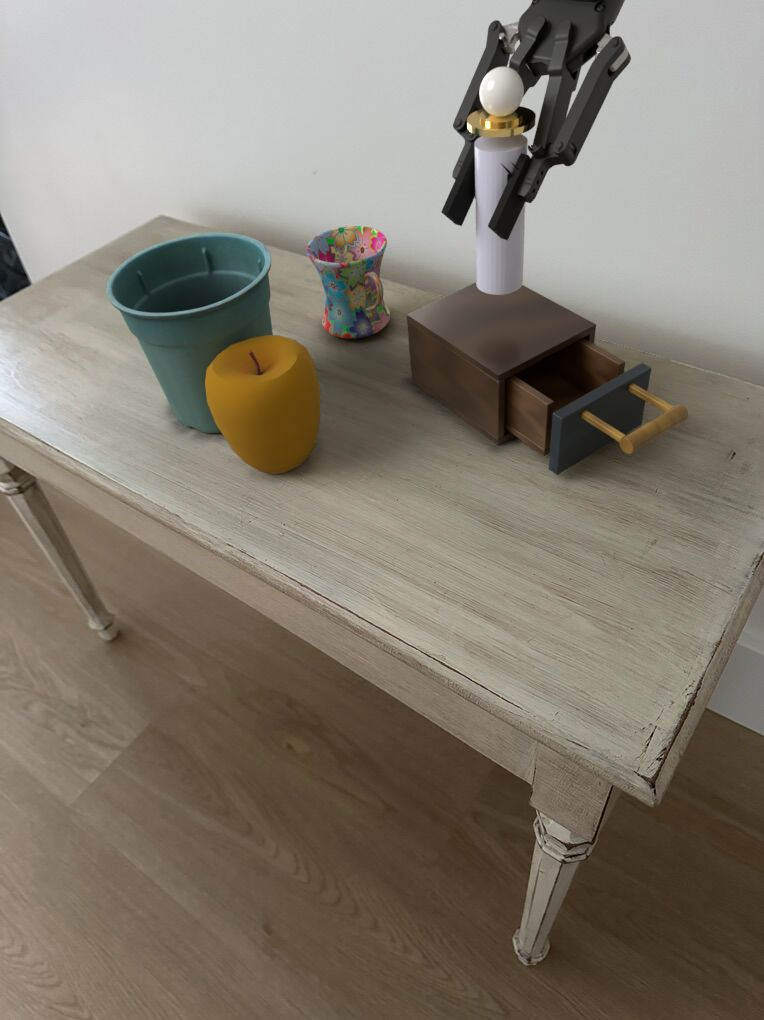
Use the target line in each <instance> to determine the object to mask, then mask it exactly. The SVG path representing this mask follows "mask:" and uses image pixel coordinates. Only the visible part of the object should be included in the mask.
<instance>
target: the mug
mask: <svg viewBox="0 0 764 1020" xmlns="http://www.w3.org/2000/svg"><path fill="white" fill-rule="evenodd" d="M387 244H388V240H387V237H386V236H385V234H384V233H383V232H381V231H380V230H378V229H376V228H373V227H370V226H365V225H364V226H363V225H345V226H339V227H335V228H331V229H330V228H329V229H328V230H325V231H323V232H320V233H319V234H317V235H316V236H314V237H312V238H311V240H309V242H308V244H307V245H306V255H307V257H308V259H309V260H310V261H311V263H312V265H313V266H314V268H315V269H316V271H317V274H318V276H319V278H320V281H321V283H322V287H323V291H324V310H323V314H322V318H321V324H322V327H323V329H324V330H325V331H326V332H327V333H329V334H330V335H332V336H334V337H336V338H341V339H351V340H352V339H362V338H366V337H369V336H370V337H371V336H372V335H374V334H376V333H379V332H380V331H382V330H383V329H384V328H386V326H387V325H388V324H389V321H390V320H391V311H390V309H389V307H388V305H387V304H386V302H385V300H384V286H383V283H382V281H381V267H382V261H383V258H384V254H385V251H386V248H387V246H388V245H387Z"/></svg>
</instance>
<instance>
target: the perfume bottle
mask: <svg viewBox="0 0 764 1020" xmlns="http://www.w3.org/2000/svg"><path fill="white" fill-rule="evenodd" d="M523 93H524V85H523V82H522V79H521V77H520V75H519V74H518V73H517V72H516V71H515V70H514V69H512V68H509V66H507V67H504V66H502V67H497V68H494V69H492V70H491V71H489V72H488V73H487V74H486V76H485V77H484V78H483V80H482V82H481V86H480V91H479V96H480V101H481V104H482V106H483V109H480V110H477V111H475V112H473V113H472V114H470V115H469V116H468V118H467V129H468V130H469V131H470V132H471V133H473V134H475V135H478V136H481V137H479V138H478V139H477V140H476V141H475V143H474V154H475V197H474V224H475V229H474V230H475V233H474V235H475V283H476V286H477V288H478V289H479V290H481V291H482V292H485V293H488V294H493V295H503V294H509V293H512V292H514V291H516V290H518V289H519V288H520V287H521V286H522V285H524V264H525V263H524V261H525V260H524V259H525V258H524V257H525V233H526V232H525V230H526V229H525V228H526V204H527V202H525V204H524V206H523V208H522V210H521V212H520V215H519V217H518V219H517V221H516V223H515V225H514V228H513V230H512V232H511V234H510V236H509V238H508V240H505V239H501V238H500V237H499V236H498V235H497V234H496V233H494V232H493V231H492V230H491V229H490V228H489V227H488V224H489V222H490V220H491V218H492V215H493V213H494V211H495V209H496V207H497V204H498V202H499V200H500V198H501V196H502V193H503V191H504V189H505V187H506V185H507V182H508V180H509V179H510V178H511V177H512V176H513V175H514V174H515V173H512V172H513V169H514V167H515V168H516V169H517V170H518V167H516V166H515V165H516V163H517V161H518V158H519V156H520V154H521V153H522V154H526V155H528V145H529V144H528V143H529V141H528V138H527V136H525V135H524V134H525V133H527V132H529V131H531V130H532V129H533V128H534V127H535V126H536V124H537V123H536V122H537V114H536V112H535V111H534V110H532V109H530V108H528V107H525V106H521V103H522V101H523V99H524V97H523ZM520 160H521V159H520ZM521 161H522V160H521ZM522 162H523V161H522Z"/></svg>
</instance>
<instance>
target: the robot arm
mask: <svg viewBox="0 0 764 1020" xmlns="http://www.w3.org/2000/svg"><path fill="white" fill-rule="evenodd" d="M625 1H626V0H531V3H530V5H529V7H527V9H526V10H525V11H524V12H523V13H522V14H521V15H520V17H519V19H518V21H515V22H512V23H508V24H505V25H503V24H502V23H501V21H500V20H498V19H495V20H493V21H492V22H490V24H489V25H488V29H487V35H486V43H485V47H484V50H483V53H482V55H481V57H480V59H479V62H478V64H477V67H476V69H475V71H474V74H473V75H472V78H471V80H470V83H469V85H468V88H467V90H466V91H465V94H464V96H463V99H462V102H461V104H460V106H459V108H458V111H457V113H456V116H455V117H454V120H453V122H452V128H453V129H454V130H455V132H457V134H458V135H459V136H460V137H461V138H462V139H463V140H464V144H463V147H462V150H461V152H460V154H459V156H458V159H457V161H456V163H455V165H454V168H453V170H452V176H451V177H452V178H453V179H454V182H453V184H452V187H451V189H450V191H449V193H448V196H447V198H446V200H445V202H444V204H443V207H442V209H441V212H440V213H442V214H443V216H445V217H446V218H447V219H448V220H450V221H451V222H452V223H453V224H454V225H457V226H460V227H462V226H463V224H464V221H465V220H466V217H467V215H468V213H469V211H470V209H471V206H472V205H473V202H474V201H475V154H474V143H475V141H476V140H477V139H478V138H479V137H481V136H478V135H475V134H473V133H471V132H470V131H469V130H468V129H467V118H468V116H469V115H470V114H472V113H473V112H475V111H477V110H480V109H483V106H482V104H481V101H480V96H479V91H480V86H481V82H482V80H483V78H484V77H485V76H486V74H487V73H488V72H489V71H491V70H492V69H494V68H497V67H502V66H504V67H509V68H512V69H514V70H515V71H516V72H517V73H518V74H519V75H520V77H521V79H522V82H523V85H524V93H523V98H524V96H526V94H527V92H528V91H529V90H530V88H534V87H535V86H536V85H537V84H538V82H539V81H540V79H541V78H542V77H544V76H548V80H547V85H546V89H545V93H544V96H543V101H542V104H541V109H540V113H539V117H538V122H537V125H536V130H535V133H534V138H533V142H532V144H530V145H529V144H528V145H527V151H529V153H530V154H531V155H532V156H531V157H530V155H529V154H527V155H526V154H522V153H521V154H520V156H519V158H518V161H517V163H516V165H515V166H516V167H518V170H517V169H516V168H515V167H514V169H513V172H512V173H515V174H514V175H513V176H512V177H511V178H510V179H509V180H508V182H507V185H506V187H505V189H504V191H503V193H502V196H501V198H500V200H499V202H498V204H497V207H496V209H495V211H494V213H493V215H492V218H491V220H490V222H489V224H488V227H489V228H490V229H491V230H492V231H493V232H494V233H496V234H497V235H498V236H499V237H500V238H501V239H505V240H508V238H509V236H510V234H511V232H512V230H513V228H514V225H515V223H516V221H517V219H518V217H519V215H520V212H521V210H522V208H523V206H524V204H525V202H526V203H528V204H532V203H533V201H534V200H535V199H536V197H537V195H538V193H539V191H540V189H541V187H542V184H543V182H544V180H545V178H546V176H547V174H548V172H549V170H550V169H551V168H553V167H555V166H560V165H563V166H565V167H571V166H573V165H574V164H575V163H576V161H577V159H578V156H579V155H580V153H581V151H582V149H583V146H584V144H585V142H586V140H587V138H588V136H589V134H590V132H591V130H592V128H593V126H594V124H595V121H596V119H597V117H598V116H599V113H600V111H601V110H602V107H603V105H604V103H605V100H606V98H607V97H608V95H609V93H610V91H611V88H612V86H613V84H614V82H615V81H616V79H617V78H619V76H620V75H621V74H622V72H623V71H624V70H625V69H626V68H627V67H628V65H629V64H630V63H631V60H632V57H631V54H630V52H629V49H628V48H627V45H626V44H625V42H624V40H623V38H622V37H621V36H620V35H616V36H614V37H612V36H611V27H612V26H613V25H614V24H615V22H616V21H617V19H618V16H619V14H620V12H621V10H622V8H623V5H624V3H625ZM518 42H519V45H518V46H517V47H516V44H517V43H518ZM515 47H516V48H515ZM510 56H511V57H510ZM592 58H594V59H593V61H592V63H591V64H590V66H589V68H588V70H587V73H586V75H585V76H584V79H583V81H582V83H581V85H580V87H579V89H578V91H577V94H576V96H575V98H574V100H573V102H572V104H571V106H570V103H571V101H572V100H571V99H572V95H573V93H574V92H575V91H576V90H577V86H578V83H579V78H580V75H581V70H582V67H583V66H585V64H586V63H588V62H589V61H591V60H592ZM520 159H521V160H522V161H523V162H522V161H521V160H520ZM525 205H526V204H525Z"/></svg>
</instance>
